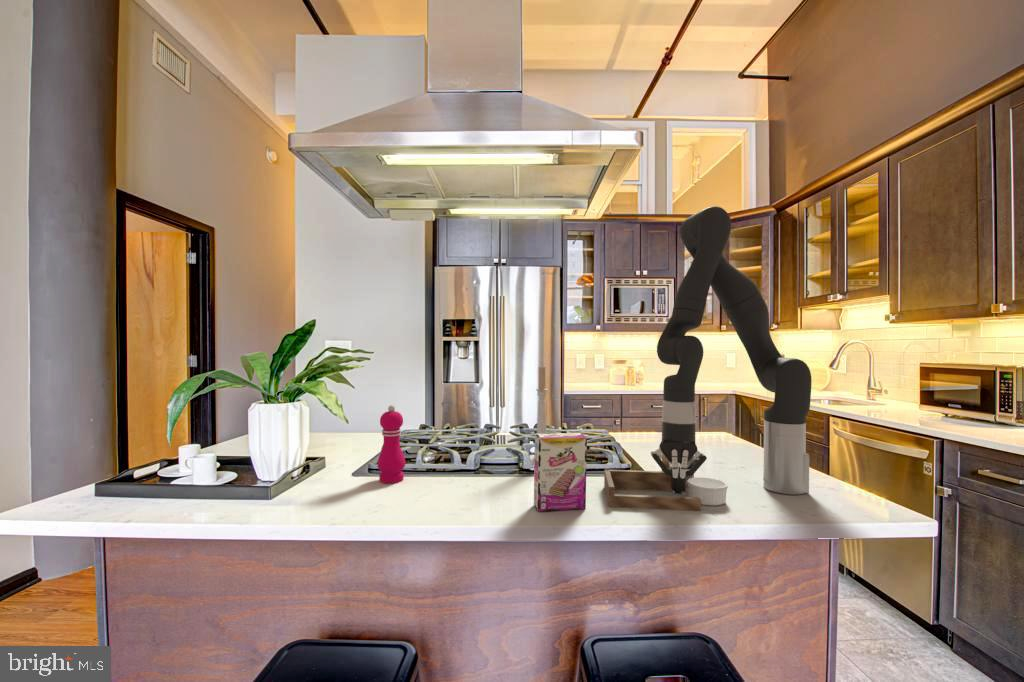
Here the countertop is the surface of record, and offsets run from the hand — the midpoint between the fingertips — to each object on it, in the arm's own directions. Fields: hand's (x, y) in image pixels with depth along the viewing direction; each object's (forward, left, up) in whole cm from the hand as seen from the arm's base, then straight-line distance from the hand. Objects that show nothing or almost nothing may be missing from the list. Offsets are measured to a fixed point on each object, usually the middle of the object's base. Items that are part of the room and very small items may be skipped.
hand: (677, 492), depth 114 cm
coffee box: (-3, -16, -2) cm, 16 cm away
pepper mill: (+73, -6, -2) cm, 73 cm away
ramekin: (-7, 0, -2) cm, 7 cm away
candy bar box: (+28, +9, -2) cm, 29 cm away
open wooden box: (+7, 0, -2) cm, 7 cm away
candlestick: (+34, -25, -2) cm, 42 cm away
